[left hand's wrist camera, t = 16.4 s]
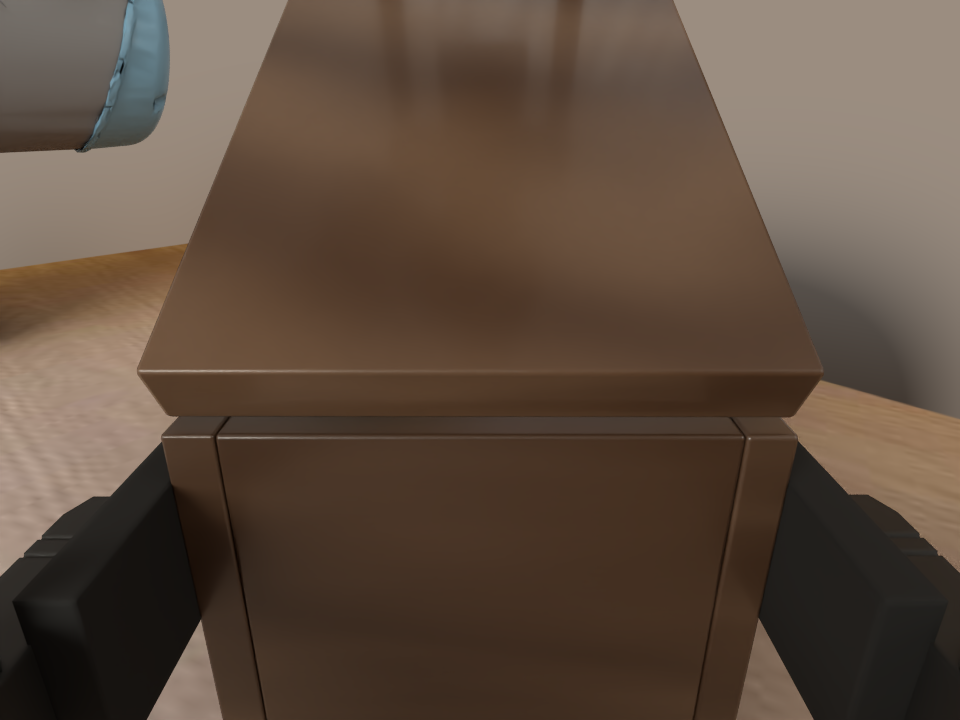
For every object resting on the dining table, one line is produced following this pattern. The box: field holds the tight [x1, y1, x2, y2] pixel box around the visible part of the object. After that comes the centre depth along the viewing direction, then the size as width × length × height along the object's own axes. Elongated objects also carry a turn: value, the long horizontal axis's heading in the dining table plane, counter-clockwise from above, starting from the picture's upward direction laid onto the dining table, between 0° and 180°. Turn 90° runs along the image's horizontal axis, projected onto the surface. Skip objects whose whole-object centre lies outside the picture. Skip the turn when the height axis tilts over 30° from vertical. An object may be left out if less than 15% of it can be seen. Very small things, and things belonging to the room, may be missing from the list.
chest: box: [161, 416, 798, 720], centre depth 19 cm, size 16×10×9 cm, turn 0°
